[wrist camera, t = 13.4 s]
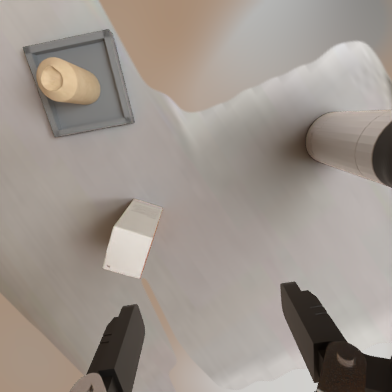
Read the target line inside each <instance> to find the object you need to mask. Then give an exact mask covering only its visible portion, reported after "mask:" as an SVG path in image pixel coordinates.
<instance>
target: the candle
mask: <svg viewBox="0 0 392 392" xmlns="http://www.w3.org/2000/svg"><path fill="white" fill-rule="evenodd" d="M36 78H37V83H38V86H39V88H40V89H41V91H42V92H43V93H44V94H45V95H46V96H47V97H48V98H50V99H51V100H54V101H57V102H66V103H74V104H83V105H89V104H92V103H94V102H95V101H96V100H97V99H98V98H99V96H100V91H101V90H100V84H99V81H98V79H97V78H96V77H95V76H94V75H93V74H92V73H91V72H89V71H87V70H85V69H83V68H81V67H78V66H76V65H74V64H72V63H69V62H67V61H65V60H62V59H60V58H56V57H50V58H47V59H45V60H43V61H42V62H41V63H40V64H39V66H38V68H37V73H36Z"/></svg>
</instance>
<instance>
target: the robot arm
mask: <svg viewBox="0 0 392 392" xmlns="http://www.w3.org/2000/svg"><path fill="white" fill-rule="evenodd" d="M306 148H307V151H308V153H309V154H310V156H311V157H312V158H313V159H314V160H316V161H318V162H321V163H324V164H327V165H329V166H332V167H335V168H338V169H340V170H343V171H346V172H349V173H352V174H354V175H357V176H360V177H363V178H366V179H369V180H371V181H375V182H377V183H380V184H383V185H386V186H389V187H391V188H392V110H372V111H345V112H331V113H327V114H324V115H322V116H321V117H319V118H318V119H317V120H316V121H315V122H314V123H313V124H312V125H311V127H310V128H309V130H308V133H307V136H306ZM280 287H281V301H282V309H283V313H284V316H285V319H286V321H287V323H288V326H289V328H290V330H291V332H292V334H293V337H294V339H295V341H296V343H297V346H298V348H299V350H300V352H301V354H302V357H303V359H304V361H305V363H306V366H307V368H308V370H309V372H310V375H311V376H312V379H313V381H314V383H317V382H318V386H317V390H316V392H392V357H391V359H385V358H380V357H374V356H369V355H366V354H363V353H362V352H361V351H360V350H359V349H358V348H356V347H355V346H353V345H352V344H349V343H348V342H347V341H346V340H345V338H344V337H343V335H342V334H341V332H340V331H339V329H338V328H337V326H336V325H335V323H334V322H333V320H332V319H331V317H330V316H329V315H328V314H327V312H326V310H325V309H324V307H323V306H322V304H321V303H320V301H319V300H318V298H317V297H316V296H315V295H313V294H312V293H311V292H309V291H308V290H306V291H301V290H300V289H299V287H298V285H297V284H296V282H289V283H282V284H281V285H280ZM144 336H145V326H144V323H143V319H142V316H141V313H140V310H139V307H138V305H137V304H134V305H127V306H123V307H122V309H121V312H120V314H119V317H114V318H113V319H112V321H111V322H110V323H109V324H108V325H107V327H106V330H105V332H104V334H103V337H102V339H101V341H100V345H99V346H98V349H97V351H96V353H95V356H94V358H93V360H92V363H91V365H90V367H89V370H88V372H87V374H86V375H85V376H83V377H82V378H81V379H79V380H78V381H77V382H76V383H75V384H74V386H73V387H72V389H71V390H70V392H132V388H133V384H134V380H135V375H136V371H137V367H138V363H139V358H140V354H141V350H142V345H143V341H144Z"/></svg>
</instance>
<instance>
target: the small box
mask: <svg viewBox="0 0 392 392" xmlns="http://www.w3.org/2000/svg"><path fill="white" fill-rule="evenodd" d="M162 210H163V208H162V207H160V206H156V205H153V204H150V203H147V202H144V201H141V200H137V199H133V201H132V202H131V203H130V205H129V206H128V208H127V209H126V210H125V211H124V213H123V214H122V216H121V217H120V218H119V220H118V221H117V222H116V224H115V225H114V227H113V230H112V233H111V237H110V240H109V244H108V247H107V251H106V256H105V260H104V264H103V269H106V270H109V271H113V272H116V273H120V274H124V275H128V276H131V277H135V278H139V279H140V277H141V275H142V272H143V269H144V266H145V263H146V260H147V257H148V254H149V251H150V248H151V245H152V242H153V239H154V235H155V232H156V229H157V226H158V223H159V220H160V216H161V213H162Z"/></svg>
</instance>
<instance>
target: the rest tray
mask: <svg viewBox="0 0 392 392" xmlns="http://www.w3.org/2000/svg"><path fill="white" fill-rule="evenodd" d="M23 50H24V52H25V55H26V58H27V61H28V64H29V66H30V69H31V72H32V75H33V78H34V80H35V83H36V86H37V89H38V92H39V94H40V97H41V100H42V103H43V106H44V108H45V111H46V114H47V117H48V120H49V122H50V125H51V128H52V131H53V134H54V136H55V137H59V136H65V135H71V134H76V133H81V132H87V131H92V130H97V129H103V128H108V127H113V126H119V125H124V124H129V123H135V122H134V118H133V114H132V110H131V106H130V101H129V97H128V93H127V89H126V85H125V81H124V77H123V73H122V69H121V65H120V61H119V57H118V53H117V49H116V45H115V41H114V37H113V33H112V32H111V31H110V30H109V29H107V30H102V31H97V32H93V33H88V34H83V35H78V36H73V37H69V38H64V39H59V40H54V41H50V42H45V43H40V44H35V45H31V46H26V47H23ZM50 57H56V58H60V59H62V60H65V61H67V62H69V63H72V64H74V65H76V66H78V67H81V68H83V69H85V70H87V71H89V72H91V73H92V74H93V75H94V76H95V77H96V78H97V79H98V81H99V84H100V90H101V91H100V96H99V98H98V99H97V100H96V101H95V102H94V103H92V104H89V105H83V104H74V103H66V102H57V101H54V100H51V99H50V98H48V97H47V96H46V95H45V94H44V93H43V92H42V91H41V89H40V88H39V86H38V83H37V78H36V73H37V68H38V66H39V64H40V63H41V62H42V61H43V60H45V59H47V58H50Z"/></svg>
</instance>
